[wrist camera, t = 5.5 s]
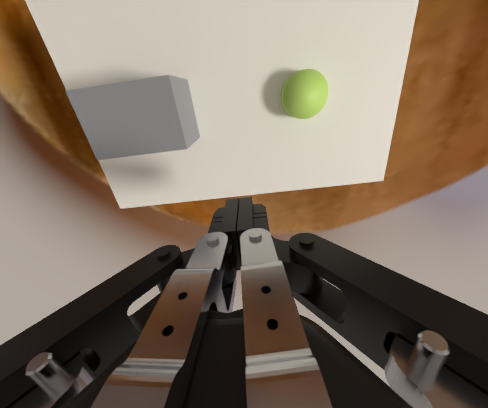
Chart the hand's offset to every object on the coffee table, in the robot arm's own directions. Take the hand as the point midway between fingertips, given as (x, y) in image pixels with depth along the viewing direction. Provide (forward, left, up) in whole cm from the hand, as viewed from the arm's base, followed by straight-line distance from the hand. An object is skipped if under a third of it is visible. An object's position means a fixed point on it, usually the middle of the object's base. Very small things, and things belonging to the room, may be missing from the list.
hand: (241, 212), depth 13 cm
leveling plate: (-6, 0, -8) cm, 10 cm away
